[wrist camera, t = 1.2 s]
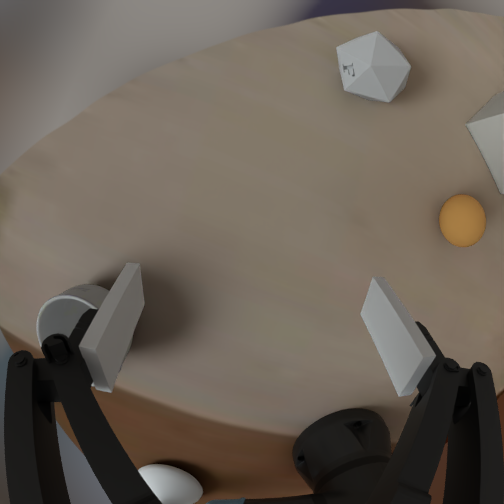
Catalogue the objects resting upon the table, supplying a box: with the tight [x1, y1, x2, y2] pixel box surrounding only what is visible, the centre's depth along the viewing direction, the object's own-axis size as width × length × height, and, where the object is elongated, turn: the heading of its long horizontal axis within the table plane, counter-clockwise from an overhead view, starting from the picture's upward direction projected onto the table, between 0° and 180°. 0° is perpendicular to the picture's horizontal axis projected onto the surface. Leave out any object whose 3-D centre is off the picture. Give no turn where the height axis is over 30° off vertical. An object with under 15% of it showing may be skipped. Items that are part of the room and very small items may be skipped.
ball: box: [439, 194, 486, 247], centre depth 30 cm, size 6×6×6 cm
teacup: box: [37, 284, 133, 386], centre depth 30 cm, size 14×11×8 cm
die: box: [336, 31, 411, 103], centre depth 27 cm, size 8×9×10 cm
